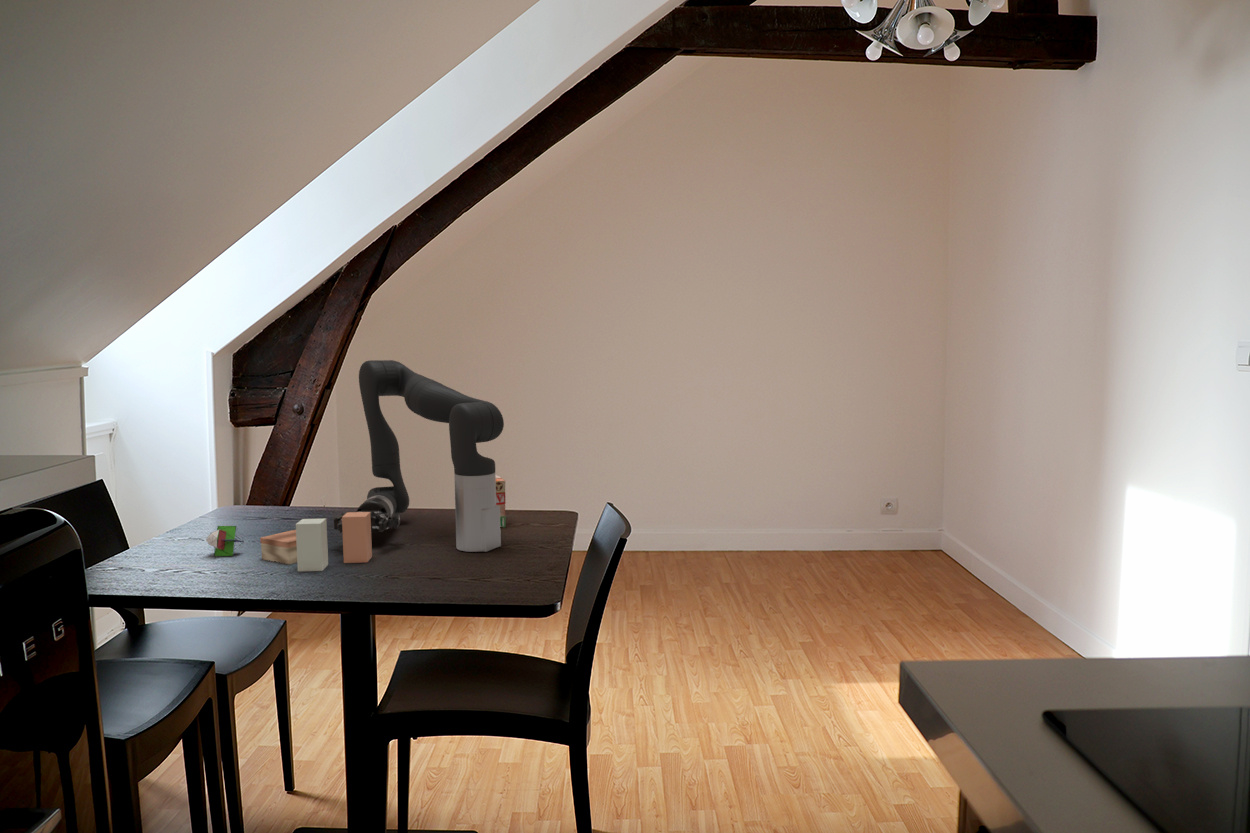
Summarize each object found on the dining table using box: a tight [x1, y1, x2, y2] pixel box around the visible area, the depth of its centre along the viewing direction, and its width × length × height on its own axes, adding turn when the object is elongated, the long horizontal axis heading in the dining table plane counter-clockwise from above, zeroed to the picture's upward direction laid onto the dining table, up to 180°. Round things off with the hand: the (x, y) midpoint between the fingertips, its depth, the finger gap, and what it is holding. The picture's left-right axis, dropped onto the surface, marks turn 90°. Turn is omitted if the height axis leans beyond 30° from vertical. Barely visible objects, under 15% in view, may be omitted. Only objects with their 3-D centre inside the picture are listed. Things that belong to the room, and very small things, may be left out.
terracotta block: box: [342, 511, 373, 564], centre depth 198 cm, size 5×5×10 cm
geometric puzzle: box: [205, 525, 245, 557], centre depth 204 cm, size 7×7×8 cm
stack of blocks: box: [496, 474, 507, 528], centre depth 238 cm, size 21×6×12 cm, turn 23°
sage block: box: [295, 518, 329, 572], centre depth 192 cm, size 5×5×10 cm
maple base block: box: [259, 529, 297, 565], centre depth 201 cm, size 9×9×5 cm
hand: (360, 527), depth 203 cm, fingers open, 8 cm apart
